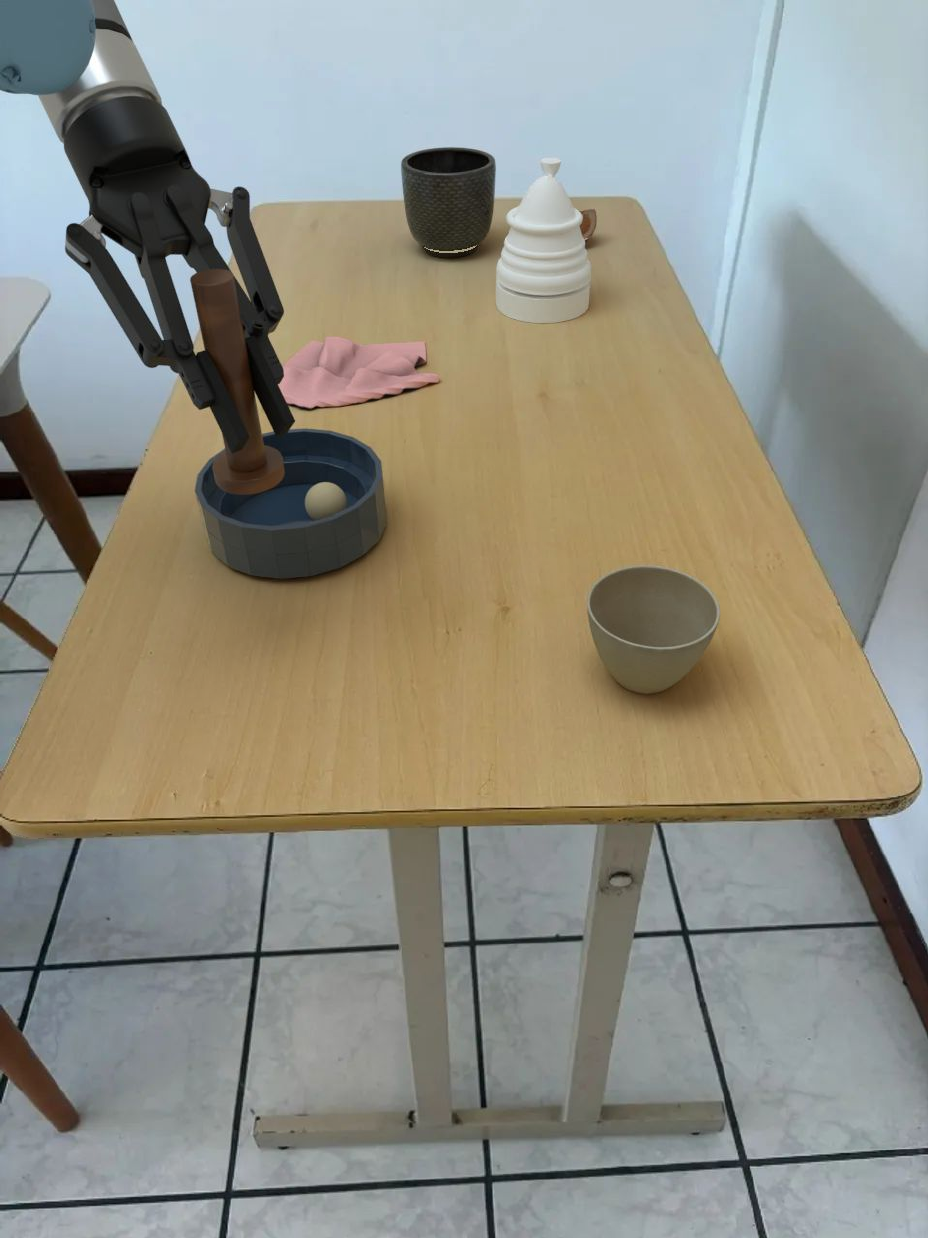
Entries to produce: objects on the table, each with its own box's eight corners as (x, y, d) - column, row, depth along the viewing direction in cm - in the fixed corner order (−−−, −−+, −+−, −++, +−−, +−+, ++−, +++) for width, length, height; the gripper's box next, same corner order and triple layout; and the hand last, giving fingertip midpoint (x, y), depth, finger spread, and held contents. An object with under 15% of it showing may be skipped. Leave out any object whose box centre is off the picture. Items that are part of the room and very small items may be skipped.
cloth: (236, 392, 114) (232, 373, 113) (339, 323, 129) (337, 305, 127) (381, 431, 107) (379, 412, 105) (473, 353, 121) (473, 335, 120)
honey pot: (508, 281, 138) (509, 147, 127) (596, 289, 136) (606, 153, 124) (485, 317, 129) (485, 176, 117) (579, 327, 126) (589, 184, 115)
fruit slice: (548, 254, 146) (549, 220, 143) (535, 238, 151) (536, 206, 148) (600, 248, 148) (602, 215, 145) (585, 233, 153) (588, 201, 149)
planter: (493, 266, 143) (494, 174, 135) (400, 265, 144) (395, 174, 135) (496, 233, 154) (497, 146, 145) (410, 232, 154) (405, 146, 146)
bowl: (200, 591, 86) (186, 536, 82) (215, 486, 99) (203, 435, 95) (391, 574, 87) (387, 520, 83) (381, 473, 100) (377, 422, 96)
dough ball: (307, 534, 91) (302, 499, 89) (307, 510, 94) (302, 475, 92) (349, 530, 92) (345, 495, 89) (348, 507, 95) (344, 472, 92)
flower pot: (732, 682, 76) (748, 614, 72) (638, 736, 72) (649, 667, 67) (647, 615, 82) (656, 548, 78) (555, 661, 78) (560, 594, 74)
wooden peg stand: (212, 497, 70) (166, 294, 60) (218, 459, 74) (175, 263, 64) (283, 492, 70) (249, 289, 60) (285, 455, 74) (254, 259, 64)
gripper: (211, 138, 73) (345, 420, 73) (-2, 180, 66) (149, 491, 66) (229, 71, 66) (377, 383, 67) (-6, 110, 59) (162, 457, 60)
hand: (263, 436), depth 66 cm, fingers closed on wooden peg stand, 3 cm apart
